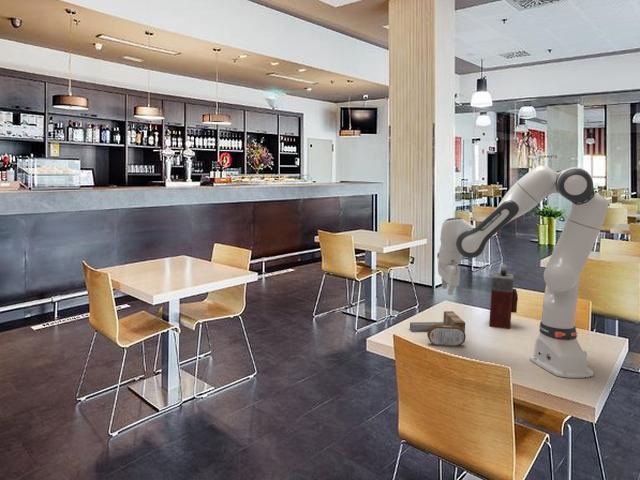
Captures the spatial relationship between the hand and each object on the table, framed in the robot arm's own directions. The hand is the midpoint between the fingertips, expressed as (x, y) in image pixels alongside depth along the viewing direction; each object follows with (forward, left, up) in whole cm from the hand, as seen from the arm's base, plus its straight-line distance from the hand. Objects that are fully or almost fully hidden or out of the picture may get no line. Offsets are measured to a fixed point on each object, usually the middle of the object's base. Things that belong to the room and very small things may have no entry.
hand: (447, 291), depth 195 cm
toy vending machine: (+22, -34, -22) cm, 46 cm away
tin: (-2, 0, -22) cm, 22 cm away
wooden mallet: (+10, 0, -22) cm, 24 cm away
